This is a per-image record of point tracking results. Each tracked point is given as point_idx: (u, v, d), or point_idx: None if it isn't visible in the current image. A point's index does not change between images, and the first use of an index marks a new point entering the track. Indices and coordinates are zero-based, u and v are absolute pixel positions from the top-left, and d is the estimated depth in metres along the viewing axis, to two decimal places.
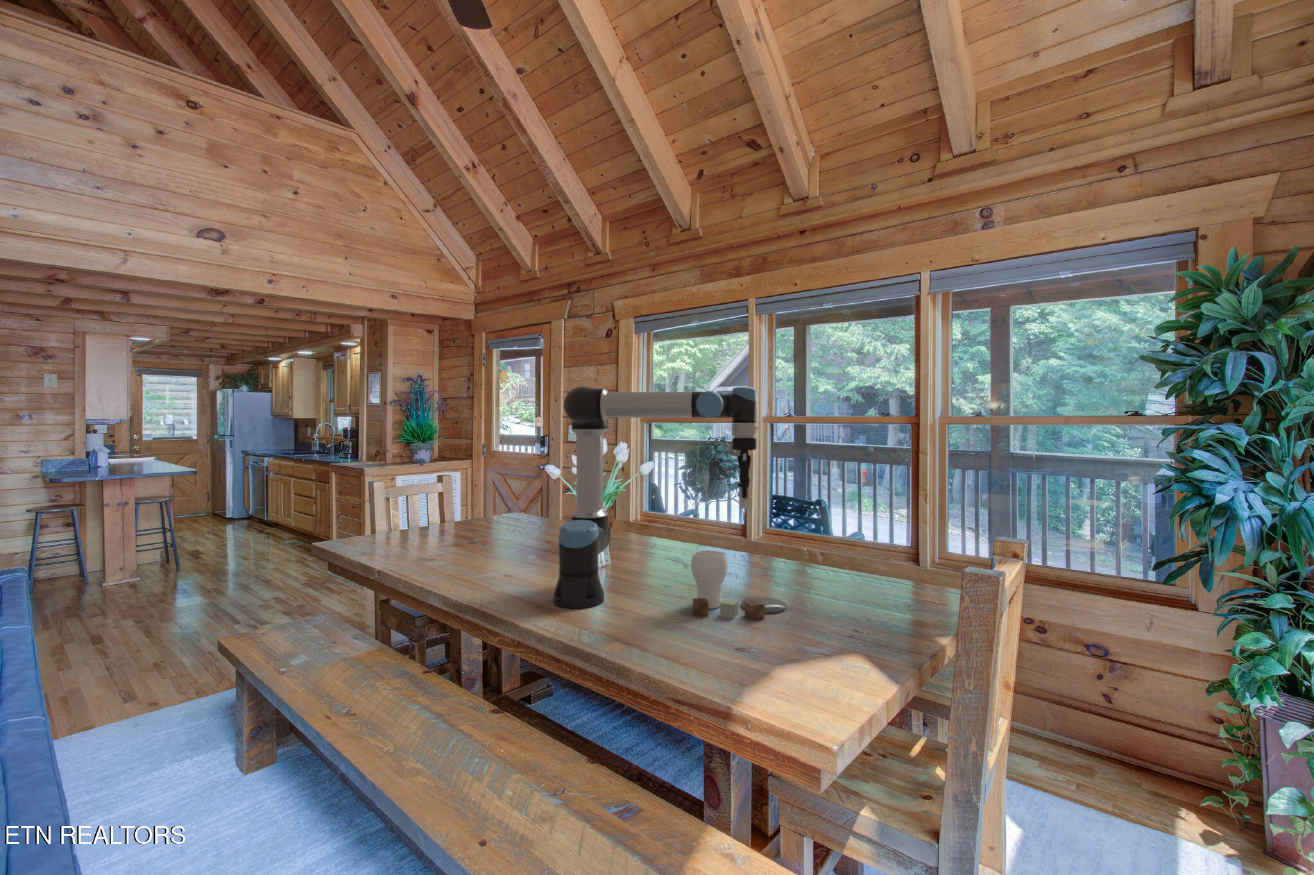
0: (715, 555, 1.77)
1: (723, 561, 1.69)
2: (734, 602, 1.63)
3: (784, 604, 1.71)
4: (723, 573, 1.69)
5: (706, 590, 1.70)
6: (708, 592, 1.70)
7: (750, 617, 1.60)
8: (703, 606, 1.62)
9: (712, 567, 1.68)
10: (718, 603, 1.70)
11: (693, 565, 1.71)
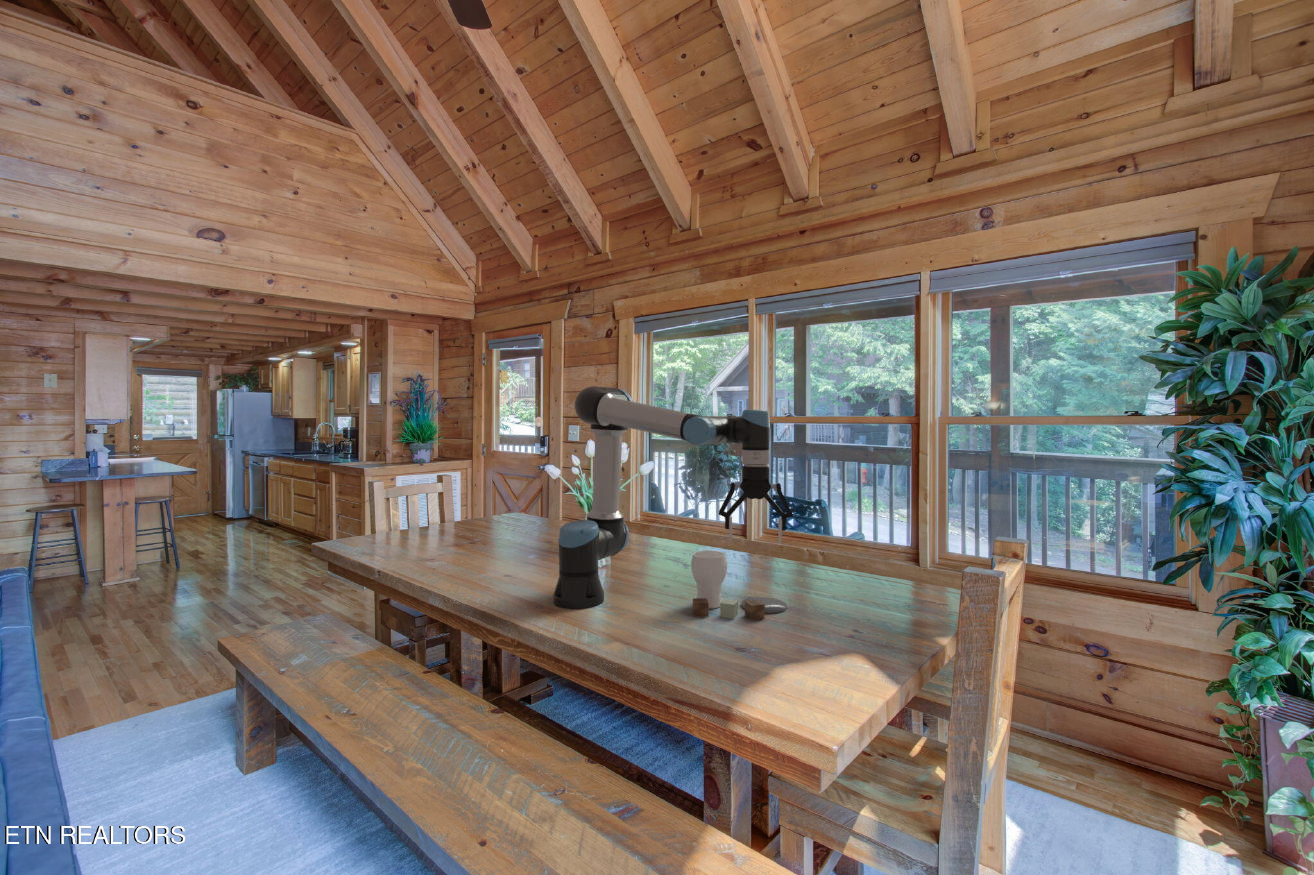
0: (715, 555, 1.77)
1: (723, 561, 1.69)
2: (734, 602, 1.63)
3: (784, 604, 1.71)
4: (723, 573, 1.69)
5: (706, 590, 1.70)
6: (708, 592, 1.70)
7: (750, 617, 1.60)
8: (703, 606, 1.62)
9: (712, 567, 1.68)
10: (718, 603, 1.70)
11: (693, 565, 1.71)
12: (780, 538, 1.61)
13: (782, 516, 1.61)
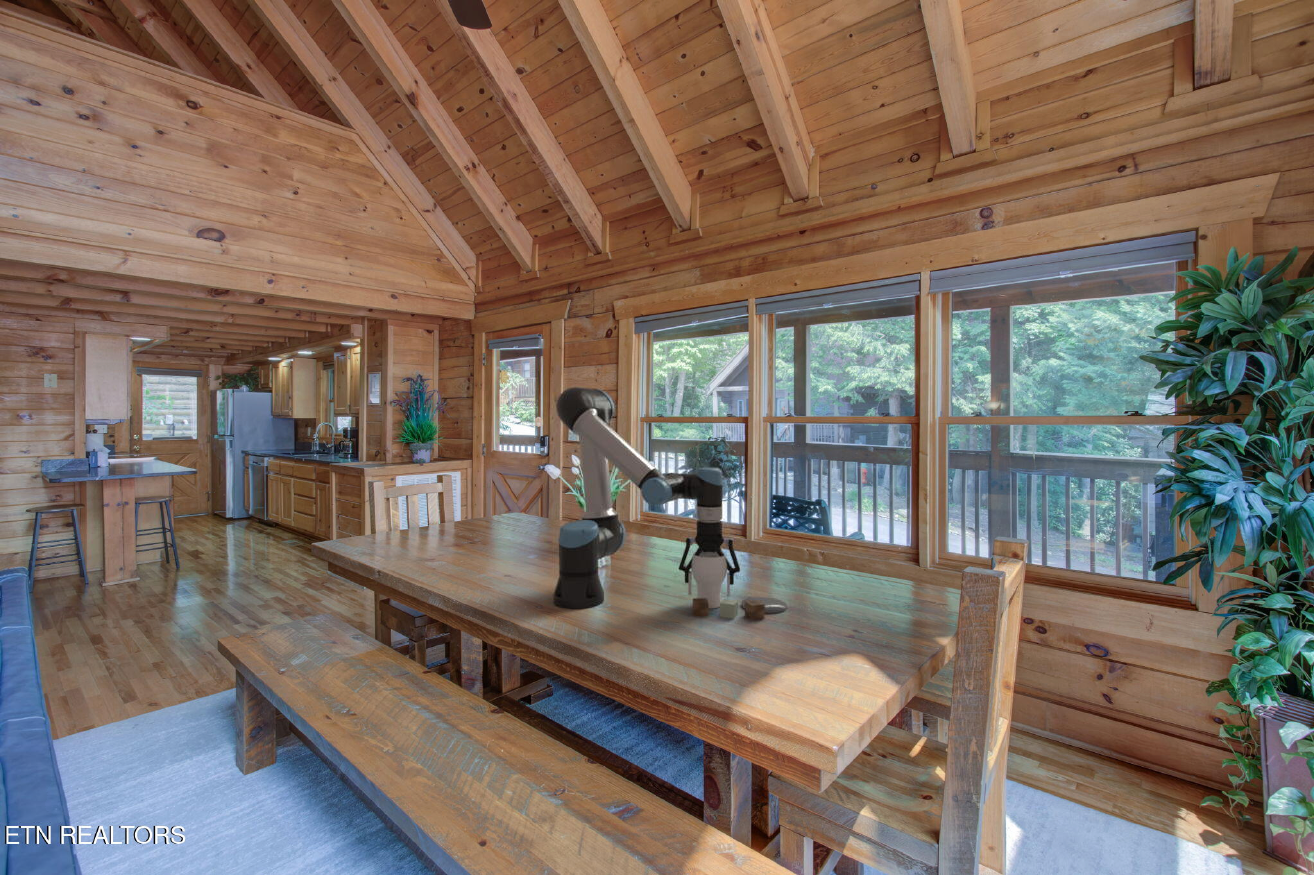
0: (715, 555, 1.77)
1: (723, 561, 1.69)
2: (734, 602, 1.63)
3: (784, 604, 1.71)
4: (723, 573, 1.69)
5: (706, 590, 1.70)
6: (708, 592, 1.70)
7: (750, 617, 1.60)
8: (703, 606, 1.62)
9: (712, 567, 1.68)
10: (718, 603, 1.70)
11: (693, 565, 1.71)
12: (728, 592, 1.71)
13: (730, 571, 1.71)
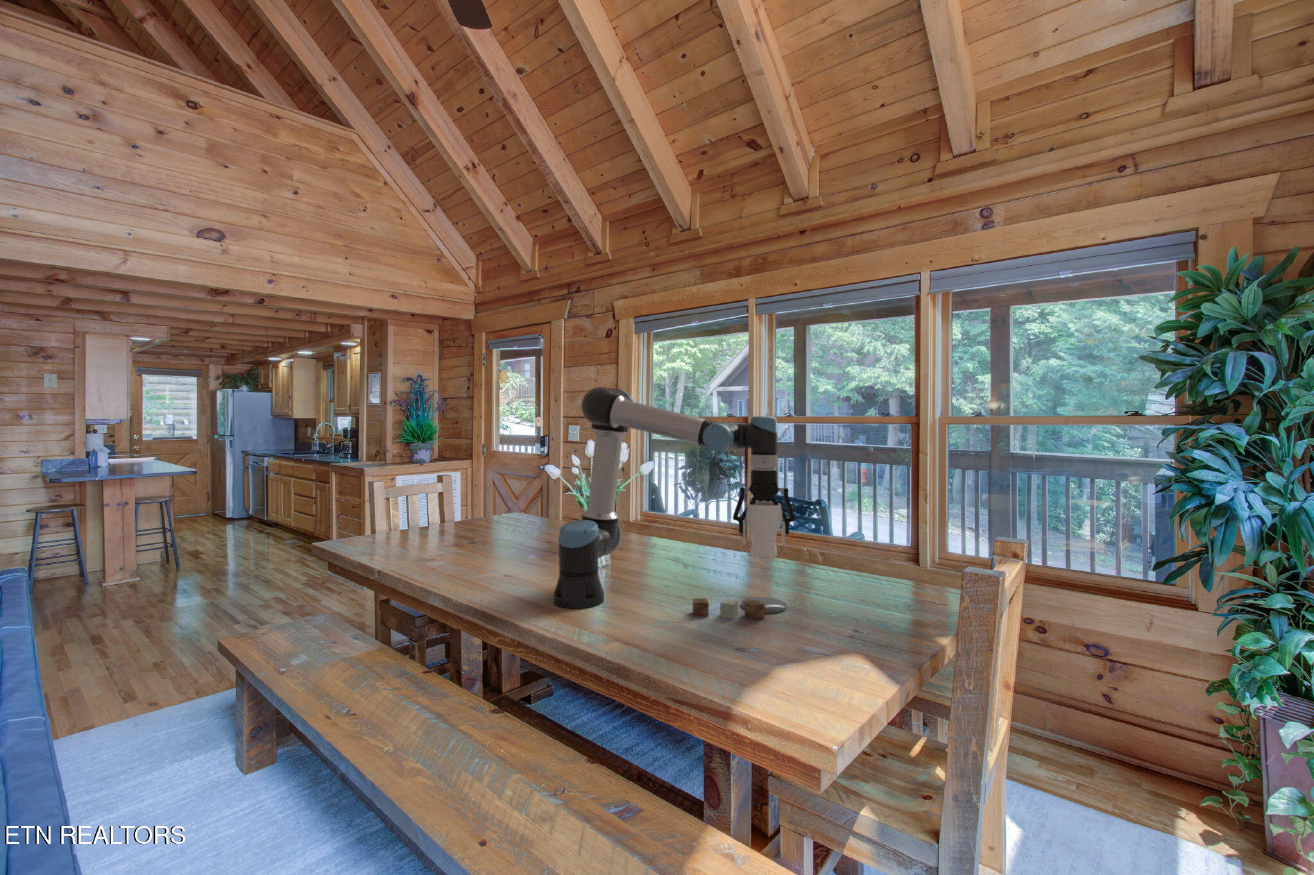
0: (768, 506, 1.75)
1: (779, 509, 1.67)
2: (734, 602, 1.63)
3: (784, 604, 1.71)
4: (779, 522, 1.67)
5: (762, 539, 1.67)
6: (764, 541, 1.67)
7: (750, 617, 1.60)
8: (703, 606, 1.62)
9: (768, 515, 1.65)
10: (774, 552, 1.68)
11: (748, 514, 1.68)
12: (783, 541, 1.69)
13: (785, 520, 1.69)
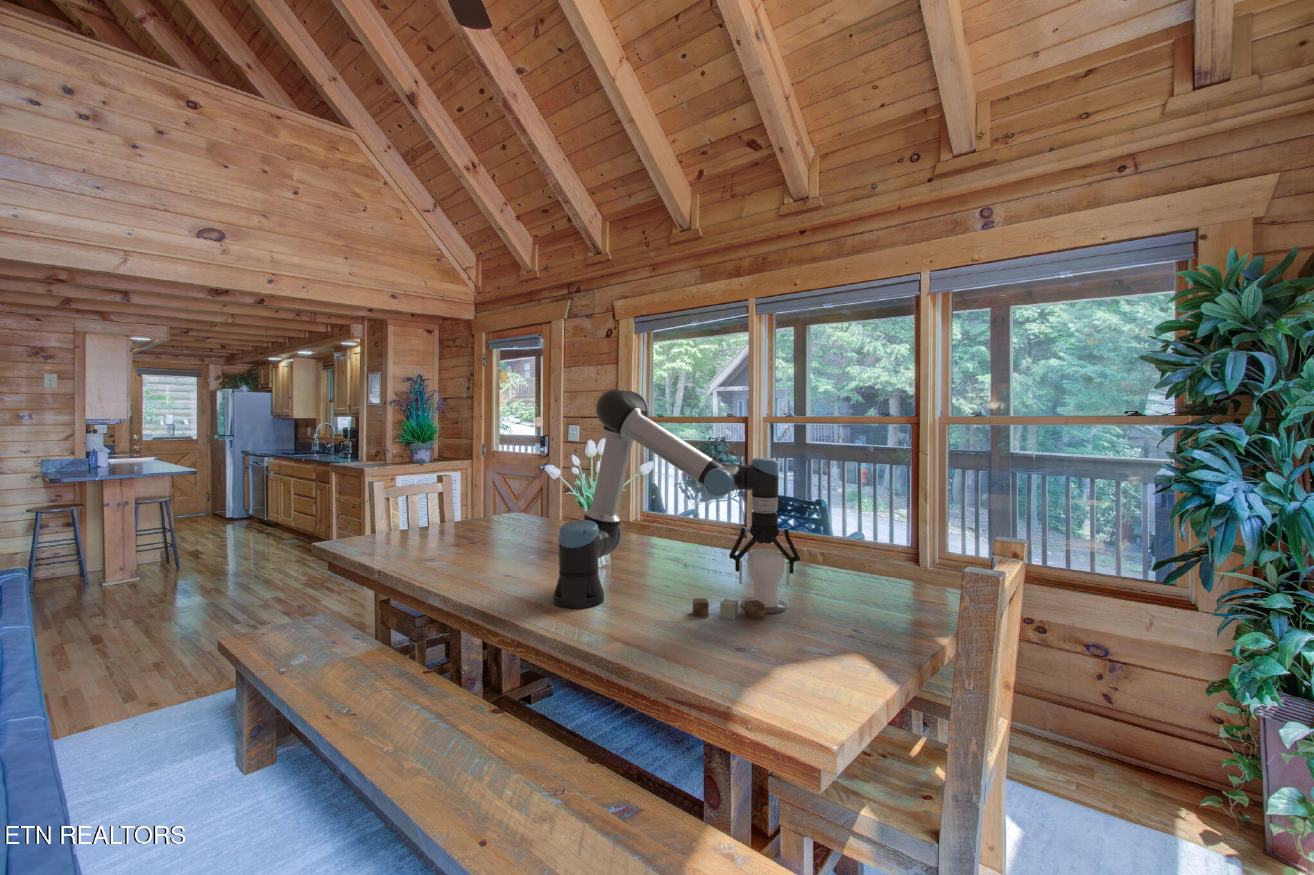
0: (771, 554, 1.75)
1: (781, 560, 1.68)
2: (734, 602, 1.63)
3: (784, 604, 1.71)
4: (781, 572, 1.68)
5: (764, 589, 1.68)
6: (766, 591, 1.68)
7: (750, 617, 1.60)
8: (703, 606, 1.62)
9: (770, 566, 1.66)
10: (775, 602, 1.69)
11: (750, 564, 1.69)
12: (788, 581, 1.69)
13: (790, 560, 1.69)
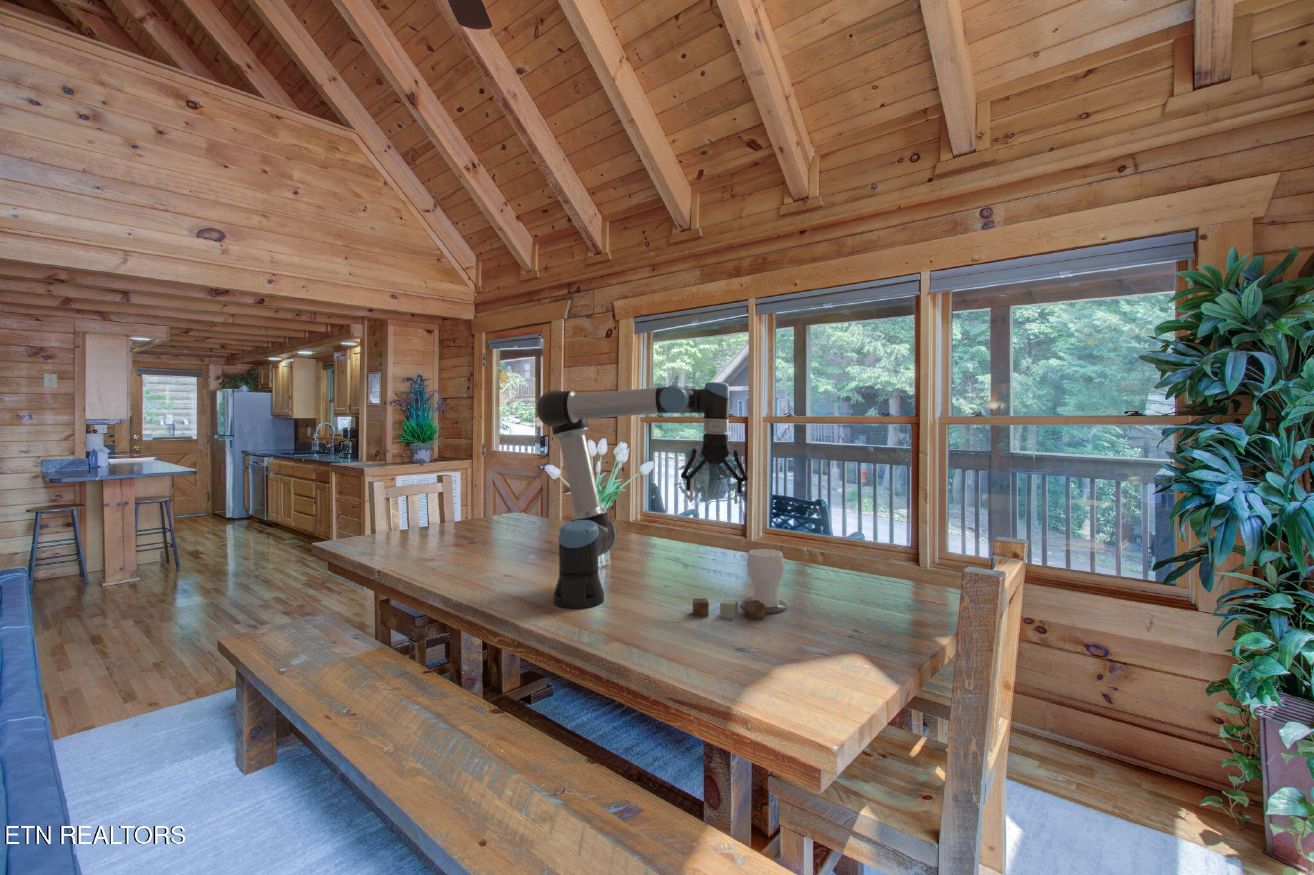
0: (770, 554, 1.75)
1: (781, 559, 1.68)
2: (734, 602, 1.63)
3: (784, 604, 1.71)
4: (781, 572, 1.68)
5: (763, 589, 1.68)
6: (765, 591, 1.68)
7: (750, 617, 1.60)
8: (703, 606, 1.62)
9: (770, 566, 1.66)
10: (775, 602, 1.69)
11: (750, 564, 1.69)
12: (735, 499, 1.77)
13: (738, 480, 1.77)
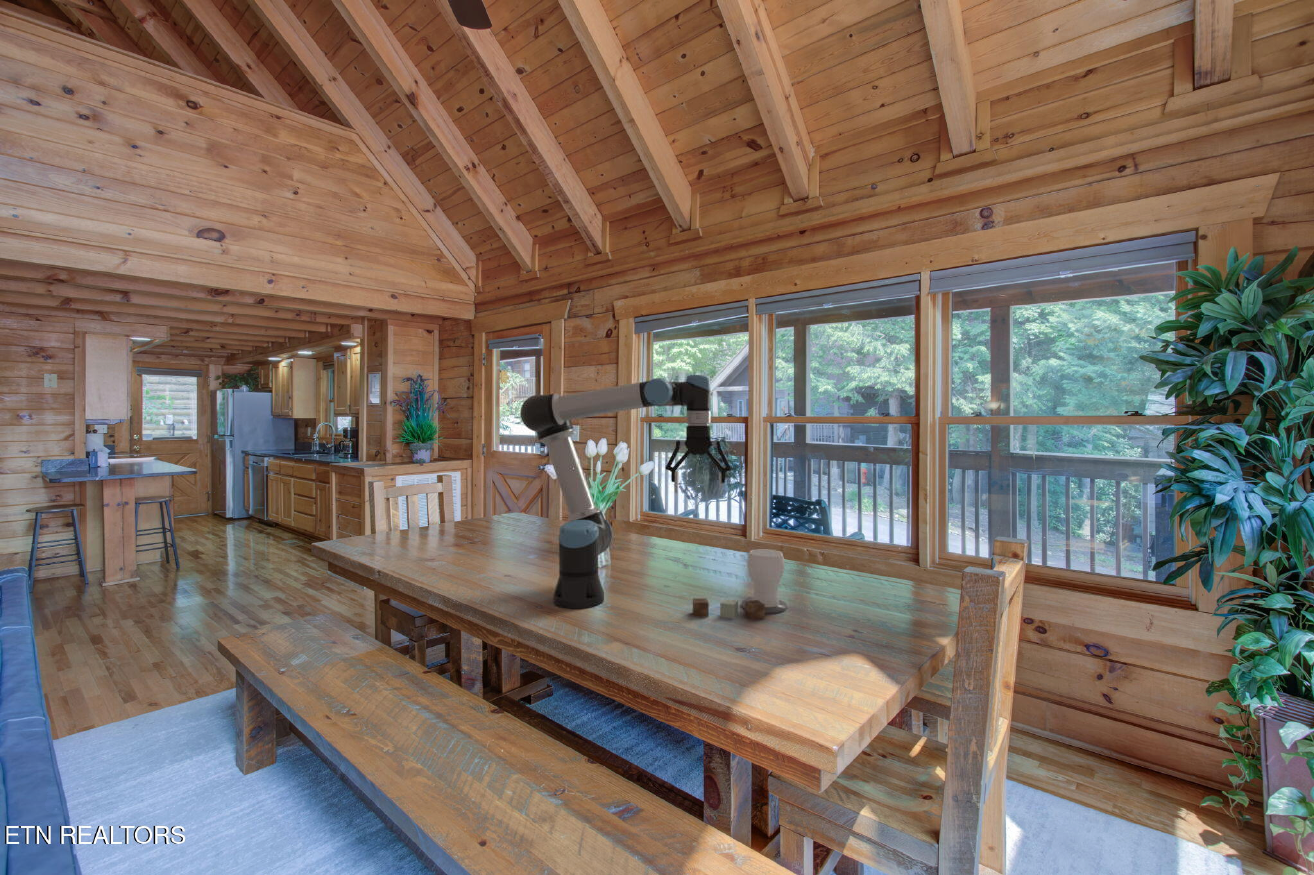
0: (771, 554, 1.75)
1: (781, 560, 1.68)
2: (734, 602, 1.63)
3: (784, 604, 1.71)
4: (781, 572, 1.68)
5: (764, 589, 1.68)
6: (766, 591, 1.68)
7: (750, 617, 1.60)
8: (703, 606, 1.62)
9: (770, 566, 1.66)
10: (775, 602, 1.69)
11: (750, 563, 1.69)
12: (719, 489, 1.80)
13: (721, 470, 1.80)
